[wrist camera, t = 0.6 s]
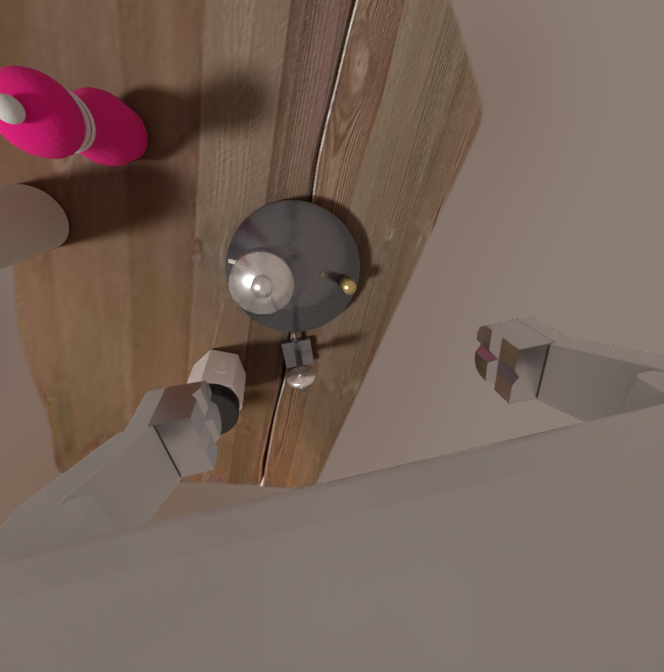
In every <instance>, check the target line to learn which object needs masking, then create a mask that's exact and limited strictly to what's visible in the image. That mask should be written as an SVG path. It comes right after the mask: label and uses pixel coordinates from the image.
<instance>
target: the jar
mask: <svg viewBox="0 0 664 672" xmlns="http://www.w3.org/2000/svg"><path fill="white" fill-rule="evenodd" d="M245 379H246V373H245V371H244V368H243V366H242V364H241V361H240V359H239V356H238V355H237V354H233V353H227V352H222V351H217V350H210V351H209V352H207V353H206V354H205V355H204V356H203V357H202V358H201V359H200V360H199V361H198V362H197V363H196V364H195V365H194V366H193V369H192V371H191V374H190V376H189V379H188V382H187V384H188V383H193V382H199V381H206V382H207V383H208V384H209V387H210V389H211V391H212V394H211V399H210V401H212V402H213V403H215V404H216V405H217V407H218V410H219V413H220V417H221V434H224V433H226V432H228V431H229V430H231V429H232V428H233V427H234V426H235V424H236V423H237V420H238V416H239V411H240V410H241V409H242V406H243V397H244V388H245Z"/></svg>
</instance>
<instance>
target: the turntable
mask: <svg viewBox="0 0 664 672" xmlns="http://www.w3.org/2000/svg"><path fill="white" fill-rule="evenodd" d="M254 248H267V249H271V250H273V251H276V252H277V253H279V254H280V255H282V256H283V257H284V258H285V259H286V261H287V262H288V264H289V265H290V268H291V270H292V275H293V279H294V291H293V294H292V297H291V299H290V300H289V302H288V303H287V304H286V305H285V306H284V307H283V308H281V309H280V310H278V311H276V312H273V313H270V314H256V313H252V312H249V311H247V310H245V309H243V308H242V307H241V306H240V307H241V308H242V309H243V310H244V311H245V312H246V313H247V314H248V315H249V316H250V317H252V318H253V319H254V320H256V321H257V322H259V323H261V324H263V325H265V326H267V327H269V328H272V329H276V330H280V331H287V332H301V331H307V330H311V329H315V328H317V327H320V326H322V325H324V324H326V323H328V322H330V321H331V320H332V319H334V318H335V317H337V316H338V315H339V314H340V313H341V312H342V311H343V310H344V309H345V307H346V306H347V305H348V303H349V302H350V300H351V299H352V297H353V295H354V293H355V291H356V289H357V285H358V281H359V276H360V258H359V252H358V249H357V246H356V243H355V241H354V239H353V236H352V235H351V233H350V232H349V230H348V228H347V227H346V226H345V225H344V224H343V223H342V221H341V220H339V219H338V218H337V217H336V216H335V215H334V214H332V213H331V212H330V211H328V210H327V209H325V208H323V207H321V206H319V205H317V204H314V203H311V202H308V201H302V200H281V201H276V202H273V203H269V204H267V205H265V206H262V207H261V208H259V209H257V210H256V211H254V212H253V213H252V214H250V215H249V216H248V217H247V218H246V219H245V220H244V221H243V222H242V223H241V225H240V226H239V228H238V229H237V230H236V232H235V234H234V236H233V238H232V240H231V242H230V245H229V249H228V252H227V259H226V273H227V280H228V283H229V276H230V272H231V269H232V266H233V264H234V262H235V260H236V259H237V258H238V257H239V256H240V255H241V254H242V253H244V252H246V251H247V250H250V249H254Z"/></svg>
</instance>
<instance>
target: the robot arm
mask: <svg viewBox="0 0 664 672" xmlns="http://www.w3.org/2000/svg"><path fill="white" fill-rule="evenodd" d="M477 340H478V342H479V343H480V344H481V345H480V346H479V348H478V349H477V350H476V352H475V364H476V368H477V370H478V372H479V374H480V376H482V377H483V379H485V381H488V382H490V383H493V384H495V388H494V389H495V391H496V392H497V393H498V394H500V395H501V397H503V398H504V399H505V400H506V401H507V402H508V403H509V404H511V403H516V402H521V401H526V400H532V399H537V400H539V401H541V402H543V403H545V404H547V405H549V406H552V407H554V408H556V409H558V410H560V411H562V412H565V413H567V414H569V415H571V416H573V417H575V418H578V419H580V420H582V421H584V422H583V423H579V424H574V425H570V426H565V427H561V428H557V429H552V430H549V431H544V432H539V433H535V434H531V435H527V436H522V437H518V438H514V439H509V440H505V441H501V442H496V443H492V444H488V445H483V446H479V447H475V448H470V449H466V450H462V451H457V452H453V453H449V454H445V455H440V456H436V457H432V458H428V459H423V460H419V461H415V462H410V463H406V464H402V465H398V466H394V467H389V468H385V469H381V470H376V471H372V472H368V473H364V474H359V475H355V476H351V477H346V478H342V479H338V480H334V481H329V482H325V483H321V484H317V485H312V486H308V487H304V488H299V489H295V490H291V491H287V492H283V493H278V494H274V495H269V496H265V497H261V498H256V499H252V500H248V501H244V502H239V503H235V504H231V505H226V506H222V507H218V508H214V509H209V510H205V511H201V512H197V513H192V514H188V515H183V516H180V517H175V518H171V519H167V520H162V521H158V522H154V523H149V524H147V522H148V521H149V520H150V519H151V517H152V516H153V515H154V514H155V512H156V511H157V510H158V508H159V507H160V506H161V505H162V503H163V502H164V501H165V499H166V498H167V497H168V496H169V494H170V493H171V492H172V490H173V489H174V488H175V487H176V485H177V484H178V483H179V482H180V480H181V478H182V477H186V476H190V475H194V474H198V473H202V472H206V471H210V470H214V467H215V461H216V456H217V451H218V449H217V446H216V444H215V442H216V441H217V440H218V439H219V438H220V435H221V417H220V413H219V410H218V407H217V405H216V404H215V403H213V402H212V401H210V399H211V394H212V391H211V389H210V387H209V384H208V383H207V382H206V381H199V382H193V383H188V384H182V385H176V386H171V387H165V388H160V389H155V390H151V391H148V392H146V394H145V396H144V397H143V399H142V401H141V403H140V405H139V406H138V408H137V410H136V412H135V413H134V415H133V417H132V419H131V421H130V422H129V424H128V426H127V428H126V429H125V431H124V432H120V433H117V434H116V435H115V436H113V437H112V438H110V439H109V440H108V441H106V442H105V443H104V444H102V445H101V446H100V447H98V448H97V449H96V450H94V451H93V452H92V453H90V454H89V455H88V456H86V457H85V458H84V459H82V460H81V461H80V462H78V463H77V464H76V465H74V466H73V467H71V468H70V469H69V470H67V471H66V472H65V473H63V474H62V475H61V476H59V477H58V478H57V479H55V480H54V481H53V482H51V483H50V484H49V485H47V486H46V487H45V488H43V489H42V490H41V491H39V492H38V493H36V494H35V495H34V496H32V497H31V498H30V499H29V500H27V501H26V502H24V503H23V504H22V505H20V506H19V507H18V508H16V509H15V510H14V511H13V512H12V513H11V515H10V516H9V518H8V519H7V520H6V521H5V523H4V524H3V525H2V527H1V528H0V672H664V355H659V354H654V353H649V352H644V351H639V350H634V349H629V348H625V347H619V346H615V345H610V344H605V343H600V342H595V341H590V340H585V339H580V338H576V339H572V338H570V337H568V336H567V335H565V334H563V333H561V332H560V331H558V330H556V329H554V328H552V327H551V326H549V325H547V324H545V323H543V322H541V321H540V320H538V319H536V318H534V317H531V316H525V317H521V318H517V319H512V320H509V321H505V322H500V323H495V324H491V325H486V326H482V327H480V328H479V330H478V333H477Z"/></svg>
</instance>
